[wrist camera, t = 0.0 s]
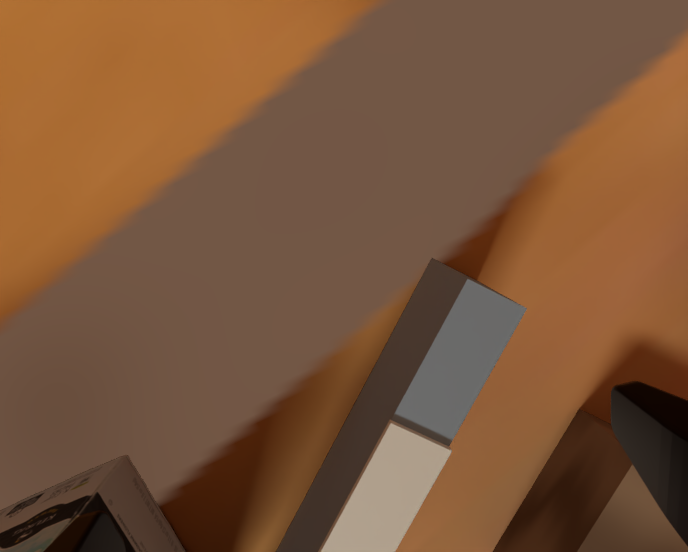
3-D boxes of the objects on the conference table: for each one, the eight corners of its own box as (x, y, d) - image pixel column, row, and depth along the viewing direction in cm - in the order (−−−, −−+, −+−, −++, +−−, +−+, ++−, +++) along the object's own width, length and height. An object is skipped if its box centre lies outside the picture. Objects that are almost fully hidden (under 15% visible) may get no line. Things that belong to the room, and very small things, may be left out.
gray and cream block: (281, 640, 27) (268, 774, 21) (237, 622, 27) (210, 753, 20) (477, 281, 24) (531, 311, 18) (430, 257, 24) (469, 279, 18)
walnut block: (629, 610, 28) (694, 699, 23) (491, 548, 27) (528, 627, 22) (717, 476, 27) (806, 540, 22) (576, 406, 26) (636, 457, 21)
